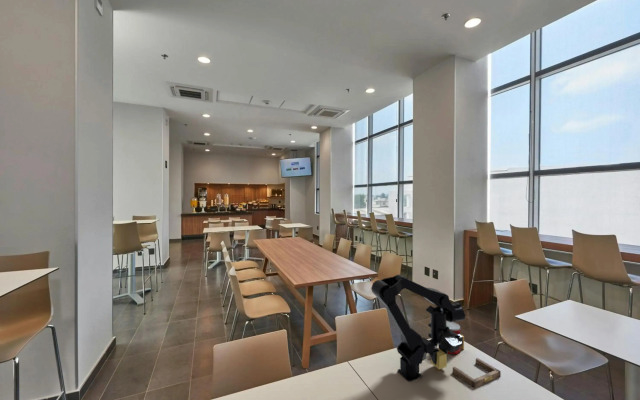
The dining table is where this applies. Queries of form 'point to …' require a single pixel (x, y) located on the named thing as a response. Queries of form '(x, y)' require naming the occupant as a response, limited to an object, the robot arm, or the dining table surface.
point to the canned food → (456, 329)
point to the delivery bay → (482, 379)
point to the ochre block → (440, 360)
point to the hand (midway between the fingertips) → (438, 362)
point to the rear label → (462, 343)
